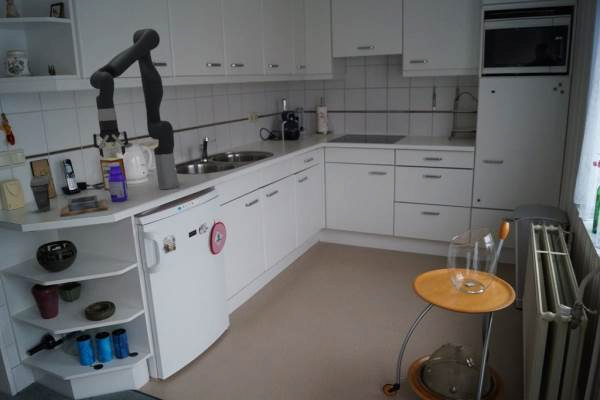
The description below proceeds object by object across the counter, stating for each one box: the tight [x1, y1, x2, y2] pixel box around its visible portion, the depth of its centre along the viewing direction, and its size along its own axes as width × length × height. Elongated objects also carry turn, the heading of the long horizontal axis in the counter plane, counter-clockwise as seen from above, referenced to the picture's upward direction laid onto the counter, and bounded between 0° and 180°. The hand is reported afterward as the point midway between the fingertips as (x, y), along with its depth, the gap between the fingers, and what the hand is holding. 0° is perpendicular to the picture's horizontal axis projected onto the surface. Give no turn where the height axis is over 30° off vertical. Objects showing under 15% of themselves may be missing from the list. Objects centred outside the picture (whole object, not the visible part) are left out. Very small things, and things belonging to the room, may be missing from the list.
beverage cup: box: [29, 165, 51, 213], centre depth 206 cm, size 7×7×20 cm
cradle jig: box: [59, 194, 108, 218], centre depth 206 cm, size 18×16×4 cm
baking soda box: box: [99, 157, 128, 192], centre depth 242 cm, size 10×6×16 cm
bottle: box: [108, 162, 129, 202], centre depth 217 cm, size 7×6×17 cm
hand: (113, 155), depth 214 cm, fingers open, 8 cm apart
